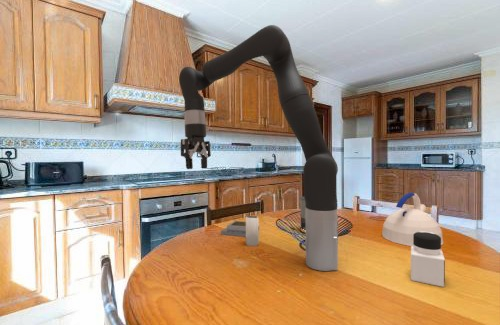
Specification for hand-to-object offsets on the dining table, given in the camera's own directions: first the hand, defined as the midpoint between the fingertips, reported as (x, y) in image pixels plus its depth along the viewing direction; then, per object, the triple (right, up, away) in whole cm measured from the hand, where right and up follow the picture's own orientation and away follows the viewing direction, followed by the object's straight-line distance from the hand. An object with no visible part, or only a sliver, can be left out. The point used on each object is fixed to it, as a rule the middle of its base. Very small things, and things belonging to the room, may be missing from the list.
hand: (197, 168), depth 94 cm
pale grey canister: (+20, -28, +3) cm, 35 cm away
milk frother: (+49, -28, +19) cm, 60 cm away
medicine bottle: (+66, -29, -25) cm, 76 cm away
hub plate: (+15, -28, +19) cm, 37 cm away
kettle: (+82, -28, +7) cm, 87 cm away
